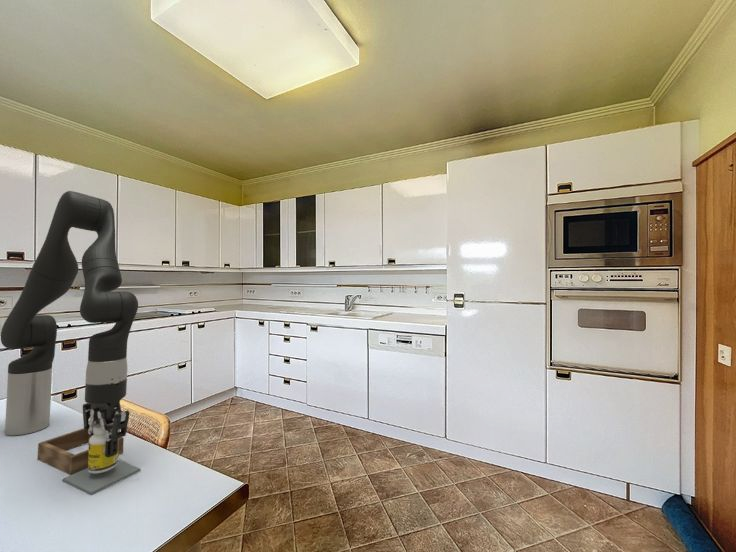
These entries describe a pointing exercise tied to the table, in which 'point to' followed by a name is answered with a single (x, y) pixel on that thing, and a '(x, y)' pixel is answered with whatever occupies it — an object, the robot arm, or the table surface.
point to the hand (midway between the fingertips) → (103, 452)
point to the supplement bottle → (99, 452)
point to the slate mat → (100, 478)
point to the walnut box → (65, 461)
